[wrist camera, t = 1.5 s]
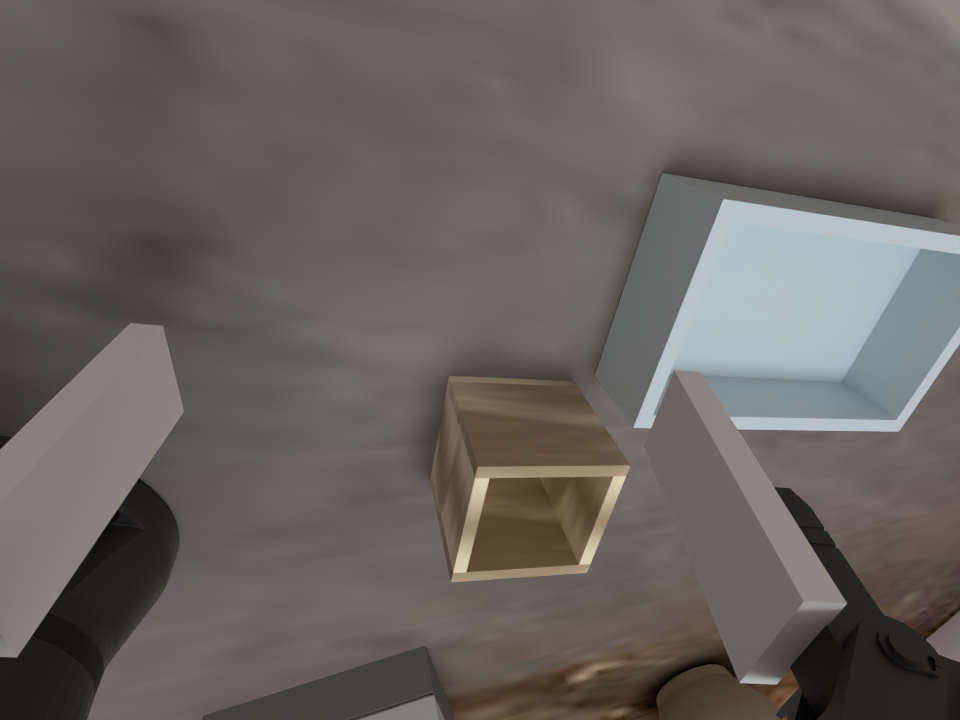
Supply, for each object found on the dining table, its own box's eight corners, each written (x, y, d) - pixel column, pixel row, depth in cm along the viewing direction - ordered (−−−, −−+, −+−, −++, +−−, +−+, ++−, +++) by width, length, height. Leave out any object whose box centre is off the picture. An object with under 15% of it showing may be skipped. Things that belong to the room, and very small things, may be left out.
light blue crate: (835, 386, 44) (898, 431, 39) (594, 376, 38) (633, 427, 33) (934, 218, 37) (1026, 246, 32) (662, 172, 31) (723, 199, 26)
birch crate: (542, 476, 42) (586, 572, 35) (429, 478, 40) (450, 582, 32) (572, 380, 38) (630, 465, 30) (448, 375, 35) (477, 466, 28)
